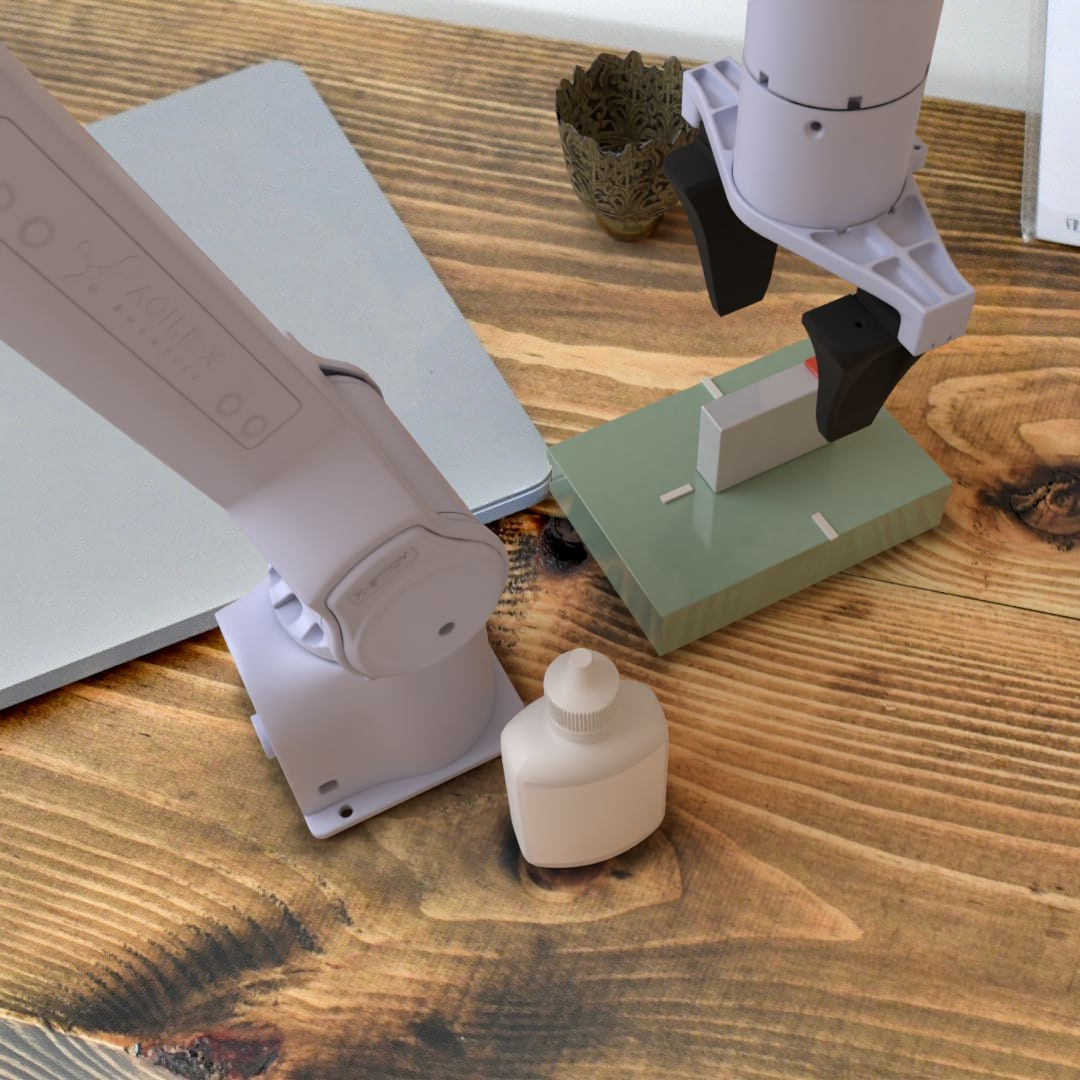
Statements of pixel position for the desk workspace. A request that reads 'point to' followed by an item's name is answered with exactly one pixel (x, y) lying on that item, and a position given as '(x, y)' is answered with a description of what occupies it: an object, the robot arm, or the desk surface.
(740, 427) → the tap handle
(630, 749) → the eye dropper bottle
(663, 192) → the cup
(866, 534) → the plate
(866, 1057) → the desk surface
